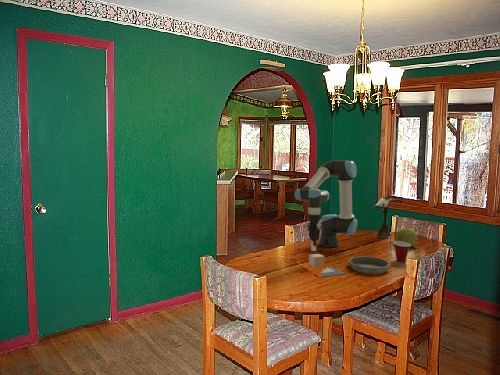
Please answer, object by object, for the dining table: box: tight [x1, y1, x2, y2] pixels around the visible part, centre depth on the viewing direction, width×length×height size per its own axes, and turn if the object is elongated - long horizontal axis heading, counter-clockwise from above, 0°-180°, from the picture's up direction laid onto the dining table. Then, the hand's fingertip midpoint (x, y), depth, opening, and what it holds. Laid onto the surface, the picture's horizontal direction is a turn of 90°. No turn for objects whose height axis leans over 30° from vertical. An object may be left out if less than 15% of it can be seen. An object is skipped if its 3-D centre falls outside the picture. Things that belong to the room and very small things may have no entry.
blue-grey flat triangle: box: [318, 265, 346, 278], centre depth 264 cm, size 34×18×1 cm, turn 22°
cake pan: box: [348, 255, 390, 275], centre depth 262 cm, size 25×25×4 cm
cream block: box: [308, 253, 326, 268], centre depth 264 cm, size 7×7×7 cm
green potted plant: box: [394, 227, 418, 248], centre depth 314 cm, size 16×14×15 cm
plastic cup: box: [393, 240, 411, 263], centre depth 278 cm, size 11×11×12 cm
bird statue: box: [373, 194, 394, 239], centre depth 341 cm, size 17×13×35 cm
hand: (313, 250), depth 267 cm, fingers closed
